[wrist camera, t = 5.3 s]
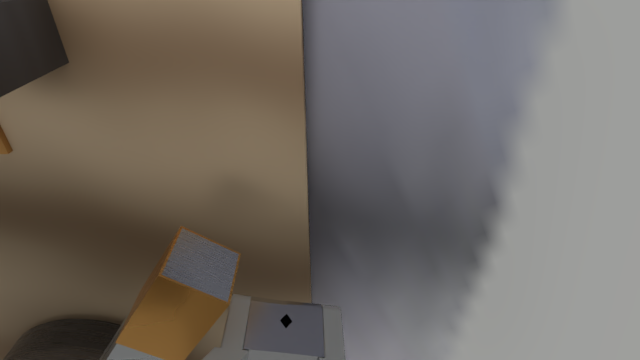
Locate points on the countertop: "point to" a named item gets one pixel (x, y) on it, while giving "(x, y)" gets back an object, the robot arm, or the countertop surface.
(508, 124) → the countertop surface
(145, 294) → the capstan
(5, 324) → the stand
